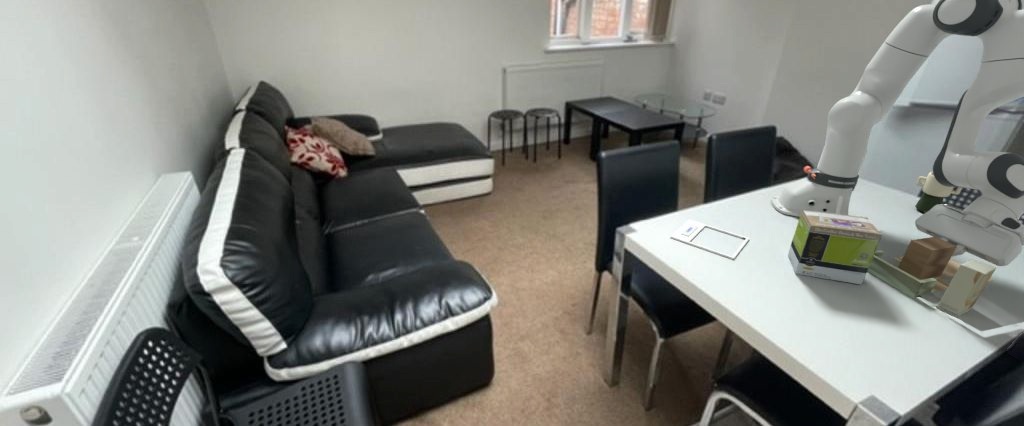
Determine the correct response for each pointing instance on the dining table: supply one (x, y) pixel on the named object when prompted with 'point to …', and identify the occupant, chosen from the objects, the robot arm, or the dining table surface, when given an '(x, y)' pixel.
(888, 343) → the dining table surface
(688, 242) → the photo frame
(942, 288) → the wooden slotted tray
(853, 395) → the dining table surface
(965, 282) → the skincare box
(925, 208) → the cream and green cup
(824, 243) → the tea box
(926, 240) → the walnut block
